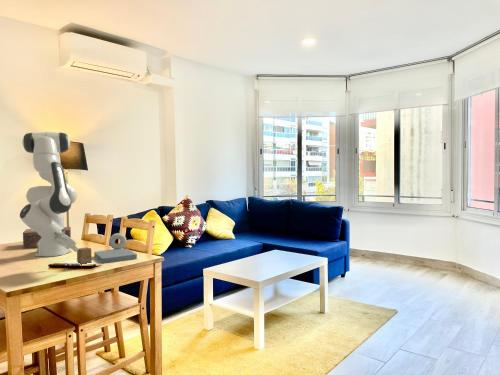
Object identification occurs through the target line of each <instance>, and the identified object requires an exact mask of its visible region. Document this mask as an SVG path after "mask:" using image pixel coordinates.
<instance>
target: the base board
mask: <svg viewBox="0 0 500 375" xmlns="http://www.w3.org/2000/svg"><path fill="white" fill-rule="evenodd" d="M93 255H94V256H93V257H95V258H96V259H97V260H98V261H99V262H100V261H101V262H100V263H101V264H108V263H115V262H122V261H124V262H125V261H131V260H137V259H138V254H137V253H135V252H134V251H132V250H131V249H128V248H127V247H126V248H122V249H110V250H109V249H108V250H101V251H94V254H93Z"/></svg>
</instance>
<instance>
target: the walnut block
mask: <svg viewBox="0 0 500 375" xmlns="http://www.w3.org/2000/svg"><path fill="white" fill-rule="evenodd" d="M78 249H79V250H78V251H77V252H76V263H77V262H78V263H80V264H81V265H82V264H87V263H92V248H90V247H88V246H87V247H79V248H78Z"/></svg>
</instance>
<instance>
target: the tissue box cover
mask: <svg viewBox="0 0 500 375" xmlns="http://www.w3.org/2000/svg"><path fill="white" fill-rule="evenodd" d="M64 230H65V234H66V235H67V236H69V237H70V238H71V239H72V234H71V231H72V230H71V226H64ZM40 239H41V236H40V235H39V234H38V233H37V232H36V231H35V230H32V229H31V228H26V229H25V230H24V231H23V232H22V246H23V247H22V249H23V250H24V249H25V250H26V249H38V247H37V243H38V242H39V240H40Z"/></svg>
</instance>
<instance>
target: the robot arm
mask: <svg viewBox="0 0 500 375" xmlns="http://www.w3.org/2000/svg"><path fill="white" fill-rule="evenodd" d="M21 143H22V146H23V147H22V148H24V151H26V152H27V153H30V154H32V163H33V164H32V165H33V169H35V171H37V173H38V175H39V177H40V178H41V179H42V180H44V181H46V182H48V183H49V184H51V185H37V186H32V187H29V188H28V189H27V191H26V194H25V198H26V201H27V202H28V204H25V206H23V208H22V209H21V210H20V213H19V218H20V220H21V221H22V222H23V223H24V224H25V226H27V227H28V228H29V229H32V230H35V231H36V232H37V233H38V234H39V235H40V236H41V239H40V240H39V242H38V243H37V247H38V248H36V249H37V250H36V251H35V253H34V257H57V256H63V255H66V254H69V253H72V251H74V252H76V253H77V251H78V250H79V248H78V247H77V246H76V244H77V242H76V241H75V240H74V239H73V238H72V237H71V238H70V237H69V236H67V235H66V234H65V230H64V227H65V226H64V225H65V224H64V215H63V213H64V214H65V213H67V212H68V211H69V210H70V209H71V207H72V204H73V203H75V201H76V200H77V198H78V192H77V190H76V189H75V188H74V187H73V186H72V185H70V184H69V183H68V182H67V179H66V175H65V174H66V173H65V171H64V166H63V165H62V164H61V155H60V154H63V153H65V152H67V151H68V150H69V148H70V146H71V140H70V138H69V136H68V134H67V133H65V132H61V131H60V132H53V131H46V132H45V131H43V132H28V133H25V134H24V135H23V138H22V142H21Z"/></svg>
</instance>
